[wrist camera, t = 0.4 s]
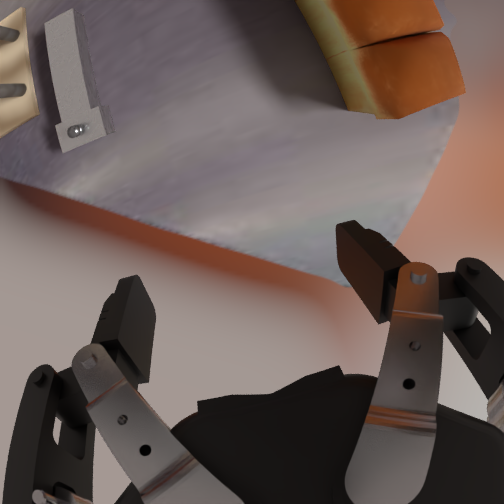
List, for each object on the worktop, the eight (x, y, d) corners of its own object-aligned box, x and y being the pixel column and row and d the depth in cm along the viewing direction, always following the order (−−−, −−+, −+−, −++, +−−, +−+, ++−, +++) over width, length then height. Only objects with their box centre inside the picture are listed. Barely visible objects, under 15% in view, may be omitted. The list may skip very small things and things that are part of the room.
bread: (412, 89, 34) (487, 98, 21) (346, 114, 35) (417, 127, 22) (342, -53, 21) (396, -93, 8) (264, -41, 22) (297, -98, 10)
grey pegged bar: (51, 32, 22) (30, 24, 17) (91, 12, 22) (74, 0, 17) (75, 147, 31) (55, 156, 26) (115, 131, 31) (100, 137, 26)
